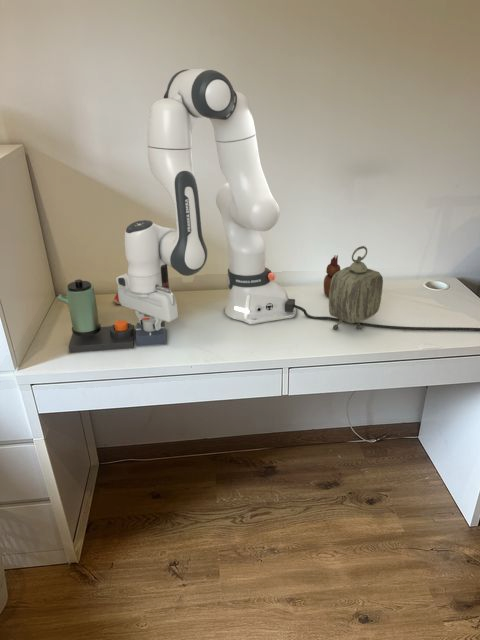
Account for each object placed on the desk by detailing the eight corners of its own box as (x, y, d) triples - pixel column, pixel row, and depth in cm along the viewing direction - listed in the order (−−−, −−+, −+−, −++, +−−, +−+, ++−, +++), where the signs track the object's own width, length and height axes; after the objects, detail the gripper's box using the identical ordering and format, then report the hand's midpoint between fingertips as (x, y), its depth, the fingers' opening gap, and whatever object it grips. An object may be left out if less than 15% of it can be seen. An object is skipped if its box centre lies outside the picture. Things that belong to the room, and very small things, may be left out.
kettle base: (135, 330, 161) (133, 318, 159) (133, 348, 152) (132, 335, 150) (75, 334, 159) (72, 322, 157) (69, 353, 149) (67, 340, 147)
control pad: (165, 330, 162) (164, 320, 160) (166, 344, 154) (165, 334, 152) (137, 332, 160) (136, 322, 159) (136, 346, 153) (135, 336, 151)
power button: (128, 325, 156) (127, 319, 155) (127, 331, 153) (127, 325, 152) (115, 326, 155) (114, 320, 155) (114, 332, 152) (113, 325, 151)
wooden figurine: (341, 300, 182) (344, 257, 174) (323, 299, 182) (326, 256, 174) (338, 292, 188) (342, 250, 180) (322, 291, 188) (324, 250, 180)
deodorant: (174, 307, 176) (170, 263, 168) (164, 314, 171) (159, 269, 164) (159, 304, 178) (154, 260, 171) (148, 311, 173) (143, 266, 166)
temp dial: (157, 325, 158) (156, 314, 156) (157, 331, 154) (156, 320, 153) (143, 325, 157) (142, 315, 155) (143, 332, 154) (141, 321, 152)
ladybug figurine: (145, 297, 182) (144, 287, 181) (123, 307, 175) (122, 297, 173) (130, 293, 186) (129, 283, 184) (109, 303, 178) (107, 293, 177)
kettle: (102, 319, 159) (95, 271, 151) (99, 335, 150) (91, 285, 143) (66, 321, 157) (57, 273, 150) (61, 338, 148) (51, 287, 141)
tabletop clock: (356, 315, 171) (363, 238, 159) (380, 324, 166) (389, 245, 153) (326, 329, 162) (332, 249, 150) (350, 340, 157) (358, 257, 144)
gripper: (181, 286, 146) (184, 332, 152) (128, 270, 156) (134, 314, 163) (164, 294, 141) (168, 340, 148) (111, 276, 152) (117, 321, 158)
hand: (150, 326), depth 155 cm, fingers closed on temp dial, 4 cm apart
